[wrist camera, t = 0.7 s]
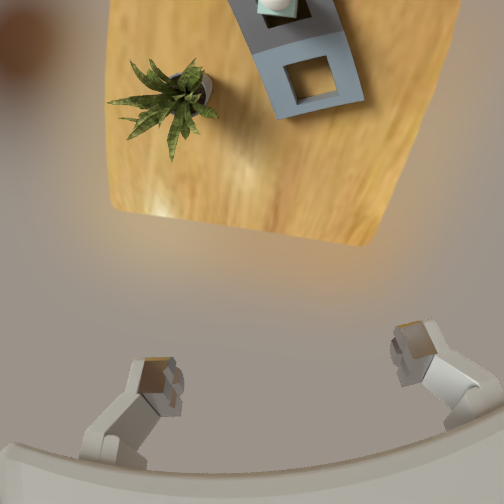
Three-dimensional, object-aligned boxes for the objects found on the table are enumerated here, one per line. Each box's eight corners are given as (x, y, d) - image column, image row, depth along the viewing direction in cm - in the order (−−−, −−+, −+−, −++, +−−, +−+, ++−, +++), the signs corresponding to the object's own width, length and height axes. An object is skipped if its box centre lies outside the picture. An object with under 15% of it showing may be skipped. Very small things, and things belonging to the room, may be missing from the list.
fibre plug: (270, -9, 32) (255, -22, 22) (299, -6, 32) (296, -18, 22) (268, 15, 35) (252, 12, 25) (296, 18, 35) (292, 16, 24)
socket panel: (229, -7, 33) (223, -9, 30) (316, -32, 28) (317, -37, 26) (279, 113, 45) (277, 120, 43) (360, 94, 41) (364, 100, 38)
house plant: (182, 22, 37) (127, 29, 25) (259, 63, 40) (237, 84, 28) (144, 95, 46) (89, 130, 34) (213, 133, 49) (179, 181, 37)
